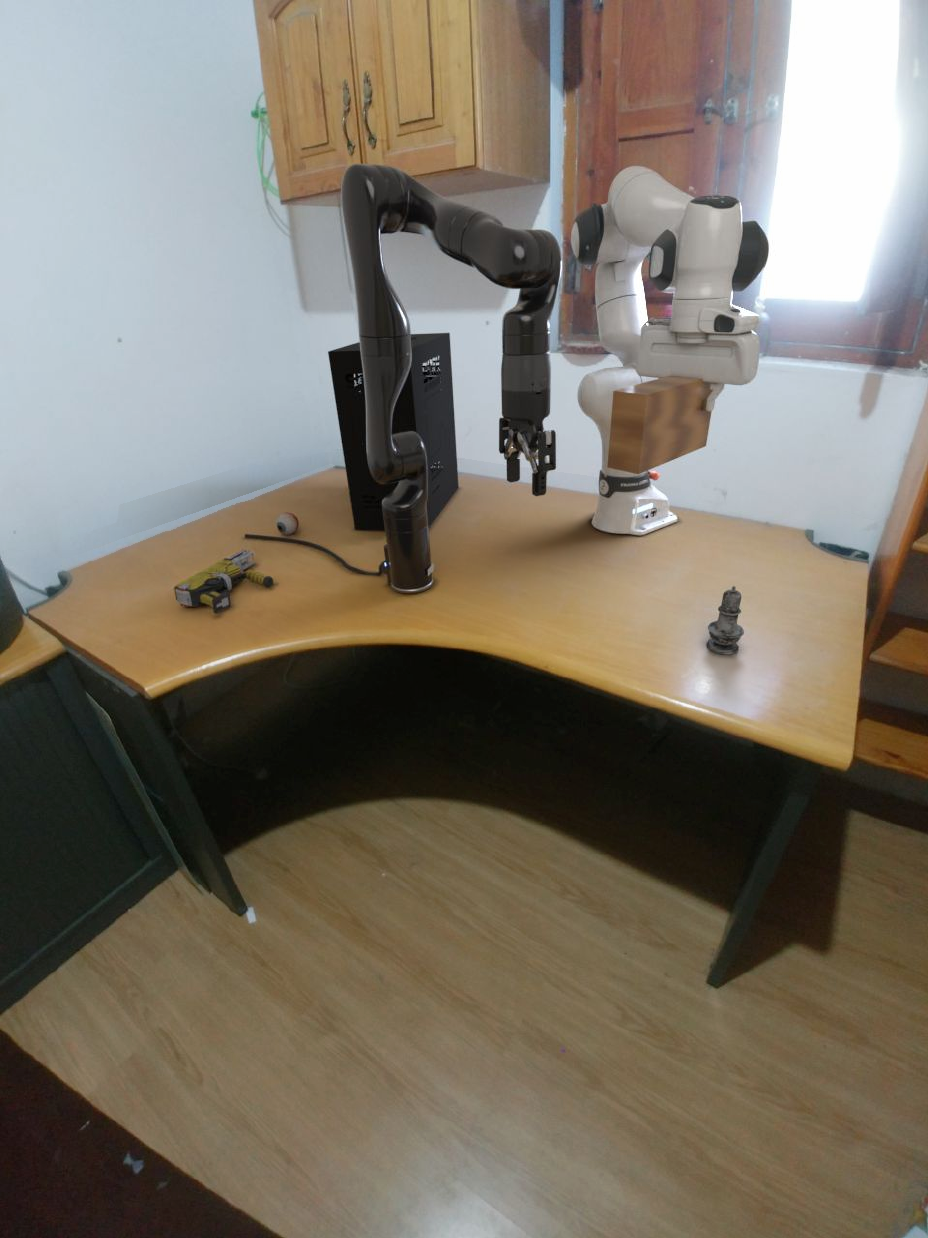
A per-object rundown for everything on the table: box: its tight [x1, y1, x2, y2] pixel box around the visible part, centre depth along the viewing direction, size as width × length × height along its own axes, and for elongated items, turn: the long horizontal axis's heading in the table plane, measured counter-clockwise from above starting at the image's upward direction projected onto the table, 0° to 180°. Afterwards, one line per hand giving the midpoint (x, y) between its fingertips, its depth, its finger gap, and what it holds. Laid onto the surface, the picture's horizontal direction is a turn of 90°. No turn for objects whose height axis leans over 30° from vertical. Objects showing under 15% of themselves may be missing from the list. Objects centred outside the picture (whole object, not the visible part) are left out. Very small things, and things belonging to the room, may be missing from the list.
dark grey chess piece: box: [706, 585, 745, 655], centre depth 104 cm, size 6×6×12 cm
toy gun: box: [173, 548, 274, 614], centre depth 136 cm, size 5×24×15 cm
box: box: [607, 376, 713, 474], centre depth 100 cm, size 21×6×12 cm, turn 133°
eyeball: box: [275, 511, 300, 536], centre depth 163 cm, size 6×6×6 cm
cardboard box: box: [327, 332, 460, 532], centre depth 168 cm, size 38×20×45 cm, turn 167°
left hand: (525, 487), depth 100 cm, fingers open, 8 cm apart
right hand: (687, 407), depth 103 cm, fingers closed on box, 6 cm apart
